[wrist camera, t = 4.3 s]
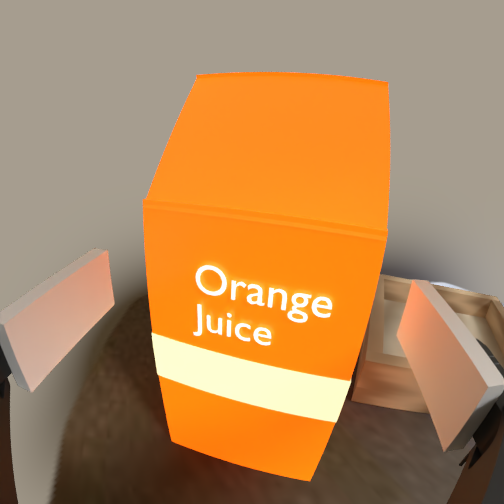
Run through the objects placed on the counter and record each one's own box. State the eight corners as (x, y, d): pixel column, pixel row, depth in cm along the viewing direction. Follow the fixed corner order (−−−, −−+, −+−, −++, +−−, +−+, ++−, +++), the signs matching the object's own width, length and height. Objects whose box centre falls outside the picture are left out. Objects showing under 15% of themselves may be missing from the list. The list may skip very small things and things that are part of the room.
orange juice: (310, 483, 14) (405, 56, 7) (169, 442, 16) (144, 58, 9) (329, 396, 21) (381, 98, 14) (217, 370, 23) (225, 88, 16)
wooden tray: (484, 322, 30) (494, 294, 28) (524, 425, 14) (549, 389, 13) (367, 301, 35) (373, 270, 34) (349, 408, 19) (364, 367, 18)
